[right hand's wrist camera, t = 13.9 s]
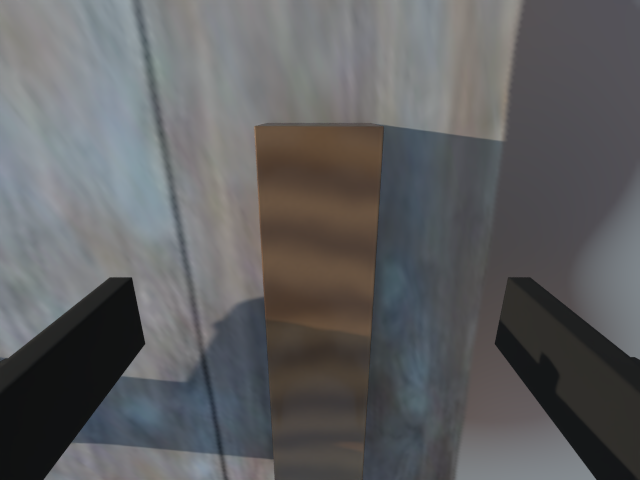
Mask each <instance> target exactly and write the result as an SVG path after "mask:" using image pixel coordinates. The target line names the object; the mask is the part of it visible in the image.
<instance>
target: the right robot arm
mask: <svg viewBox="0 0 640 480" xmlns="http://www.w3.org/2000/svg"><path fill="white" fill-rule="evenodd" d="M144 345H145V340H144V335H143V330H142V325H141V320H140V315H139V311H138V306H137V301H136V296H135V291H134V286H133V281H132V278H109V279H107V280H106V281H105V282H104V283H102V284H101V285H100V286H99V287H97V288H96V289H95V290H94V291H92V292H91V293H90V294H89V295H87V296H86V297H85V298H83V299H82V300H81V301H80V302H78V303H77V304H76V305H75V306H73V307H72V308H71V309H70V310H68V311H67V312H66V313H65V314H63V315H62V316H61V317H60V318H58V319H57V320H56V321H55V322H53V323H52V324H51V325H50V326H48V327H47V328H46V329H45V330H43V331H42V332H41V333H39V334H38V335H37V336H36V337H34V338H33V339H32V340H31V341H29V342H28V343H27V344H26V345H24V346H23V347H22V348H21V349H19V350H18V351H17V352H16V353H14V354H13V355H12V356H11V357H9V358H8V359H4V360H2V361H0V480H44V478H45V477H46V476H47V474H48V473H49V472H50V470H51V469H52V468H53V466H54V465H55V464H56V462H57V461H58V460H59V458H60V457H61V456H62V454H63V453H64V452H65V450H66V449H67V448H68V446H69V445H70V444H71V442H72V441H73V440H74V438H75V437H76V436H77V434H78V433H79V432H80V430H81V429H82V428H83V426H84V425H85V424H86V422H87V421H88V420H89V418H90V417H91V416H92V414H93V413H94V412H95V410H96V409H97V408H98V406H99V405H100V404H101V402H102V401H103V400H104V398H105V397H106V396H107V394H108V393H109V391H110V390H111V389H112V387H113V386H114V385H115V383H116V382H117V381H118V379H119V378H120V377H121V375H122V374H123V373H124V371H125V370H126V369H127V367H128V366H129V365H130V363H131V362H132V361H133V359H134V358H135V357H136V355H137V354H138V353H139V351H140V350H141V349H142V347H143V346H144ZM495 345H496V346H497V347H498V349H499V350H500V351H501V353H502V354H503V355H504V357H505V358H506V359H507V361H508V362H509V363H510V365H511V366H512V367H513V369H514V370H515V371H516V373H517V374H518V375H519V377H520V378H521V379H522V381H523V382H524V383H525V385H526V386H527V387H528V389H529V390H530V391H531V393H532V394H533V395H534V397H535V398H536V399H537V401H538V402H539V404H540V405H541V406H542V408H543V409H544V410H545V412H546V413H547V414H548V416H549V417H550V418H551V420H552V421H553V422H554V424H555V425H556V426H557V428H558V429H559V430H560V432H561V433H562V434H563V436H564V437H565V438H566V439H567V441H568V442H569V444H570V445H571V446H572V448H573V449H574V450H575V452H576V453H577V454H578V456H579V457H580V458H581V459H582V461H583V462H584V464H585V465H586V466H587V468H588V469H589V470H590V472H591V473H592V474H593V476H594V477H595V478H596V480H640V360H639V359H637V358H635V357H629V356H628V355H627V354H626V353H624V352H623V351H622V350H621V349H619V348H618V347H617V346H616V345H614V344H613V343H612V342H611V341H609V340H608V339H607V338H606V337H604V336H603V335H602V334H600V333H599V332H598V331H597V330H595V329H594V328H593V327H592V326H590V325H589V324H588V323H587V322H585V321H584V320H583V319H582V318H580V317H579V316H578V315H577V314H575V313H574V312H573V311H572V310H570V309H569V308H568V307H566V306H565V305H564V304H563V303H562V302H560V301H559V300H558V299H556V298H555V297H554V296H553V295H551V294H550V293H549V292H548V291H546V290H545V289H544V288H543V287H541V286H540V285H539V284H538V283H536V282H535V281H534V280H533V279H531V278H508V281H507V286H506V291H505V296H504V301H503V306H502V311H501V315H500V320H499V325H498V330H497V335H496V340H495Z"/></svg>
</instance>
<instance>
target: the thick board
mask: <svg viewBox="0 0 640 480" xmlns="http://www.w3.org/2000/svg"><path fill="white" fill-rule="evenodd" d="M254 130H255V147H256V164H257V182H258V199H259V216H260V233H261V250H262V268H263V285H264V302H265V319H266V336H267V353H268V371H269V388H270V405H271V422H272V439H273V457H274V474H275V480H362V478H363V462H364V445H365V429H366V413H367V396H368V380H369V363H370V347H371V331H372V314H373V298H374V282H375V265H376V249H377V233H378V216H379V200H380V183H381V167H382V151H383V134H384V127H383V126H380V125H376V124H371V123H266V124H262V125H258V126H255V127H254Z"/></svg>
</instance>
